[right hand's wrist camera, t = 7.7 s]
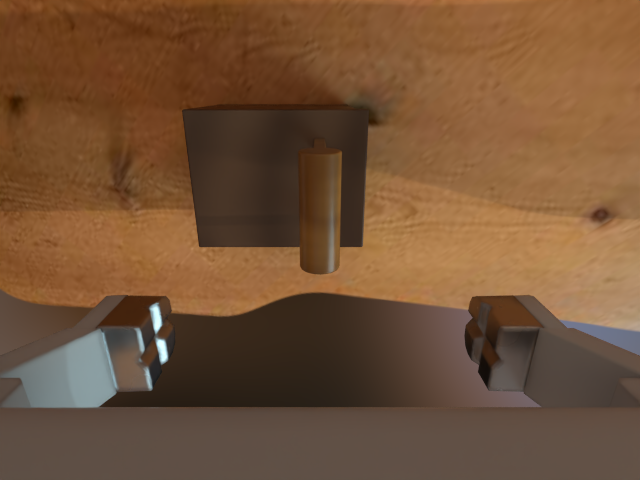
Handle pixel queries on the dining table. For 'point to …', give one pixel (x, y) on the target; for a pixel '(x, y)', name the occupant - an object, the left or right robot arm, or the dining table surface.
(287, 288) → the dining table surface
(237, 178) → the lid
